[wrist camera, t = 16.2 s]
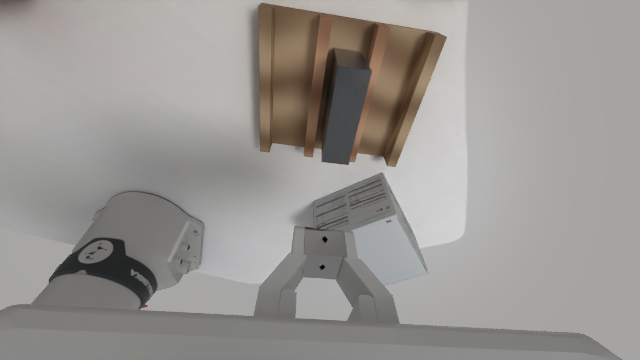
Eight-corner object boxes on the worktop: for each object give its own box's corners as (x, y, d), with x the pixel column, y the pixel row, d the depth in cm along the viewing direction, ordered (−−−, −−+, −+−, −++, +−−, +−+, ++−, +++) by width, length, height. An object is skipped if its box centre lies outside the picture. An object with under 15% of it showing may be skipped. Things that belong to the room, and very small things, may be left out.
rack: (391, 153, 38) (397, 167, 35) (262, 138, 36) (257, 151, 33) (436, 32, 28) (449, 37, 25) (262, 2, 26) (255, 5, 23)
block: (342, 131, 34) (348, 164, 28) (321, 128, 34) (321, 161, 28) (360, 51, 28) (372, 71, 22) (333, 47, 28) (338, 65, 21)
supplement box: (311, 200, 44) (310, 244, 36) (382, 170, 40) (397, 213, 32) (352, 252, 53) (357, 295, 45) (413, 231, 49) (430, 275, 42)
